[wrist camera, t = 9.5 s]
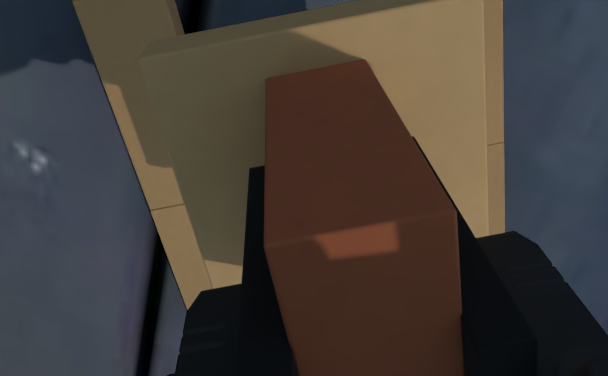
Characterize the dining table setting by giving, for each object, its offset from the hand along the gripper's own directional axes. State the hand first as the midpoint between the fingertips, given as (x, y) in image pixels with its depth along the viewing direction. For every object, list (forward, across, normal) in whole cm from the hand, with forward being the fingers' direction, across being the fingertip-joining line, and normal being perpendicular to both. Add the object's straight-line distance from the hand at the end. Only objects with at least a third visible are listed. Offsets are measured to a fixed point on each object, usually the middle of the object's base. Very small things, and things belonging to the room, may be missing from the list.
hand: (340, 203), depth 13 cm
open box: (+3, 0, 0) cm, 3 cm away
